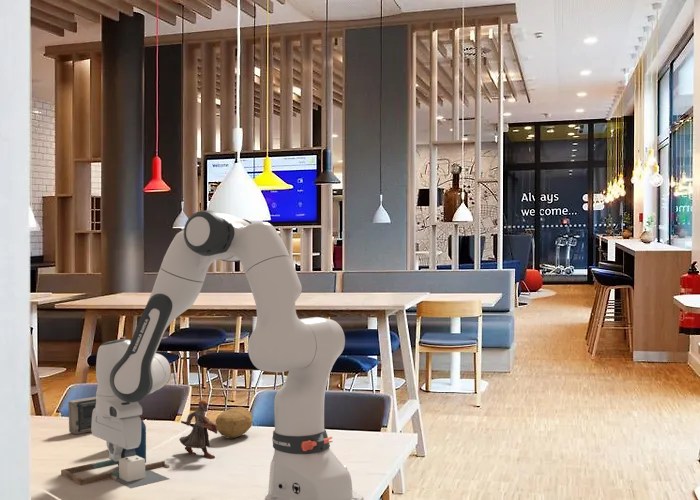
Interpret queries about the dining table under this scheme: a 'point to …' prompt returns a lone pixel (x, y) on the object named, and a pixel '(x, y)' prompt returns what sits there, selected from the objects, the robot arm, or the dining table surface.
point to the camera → (81, 415)
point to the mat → (143, 479)
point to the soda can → (141, 449)
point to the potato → (234, 422)
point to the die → (132, 468)
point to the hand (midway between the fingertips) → (115, 460)
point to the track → (113, 475)
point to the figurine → (199, 431)
